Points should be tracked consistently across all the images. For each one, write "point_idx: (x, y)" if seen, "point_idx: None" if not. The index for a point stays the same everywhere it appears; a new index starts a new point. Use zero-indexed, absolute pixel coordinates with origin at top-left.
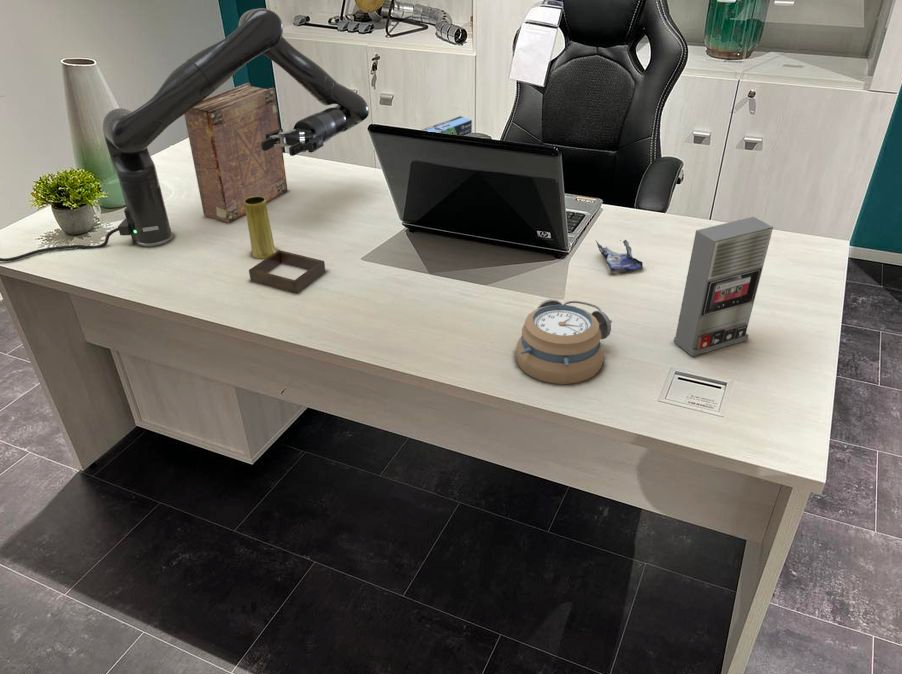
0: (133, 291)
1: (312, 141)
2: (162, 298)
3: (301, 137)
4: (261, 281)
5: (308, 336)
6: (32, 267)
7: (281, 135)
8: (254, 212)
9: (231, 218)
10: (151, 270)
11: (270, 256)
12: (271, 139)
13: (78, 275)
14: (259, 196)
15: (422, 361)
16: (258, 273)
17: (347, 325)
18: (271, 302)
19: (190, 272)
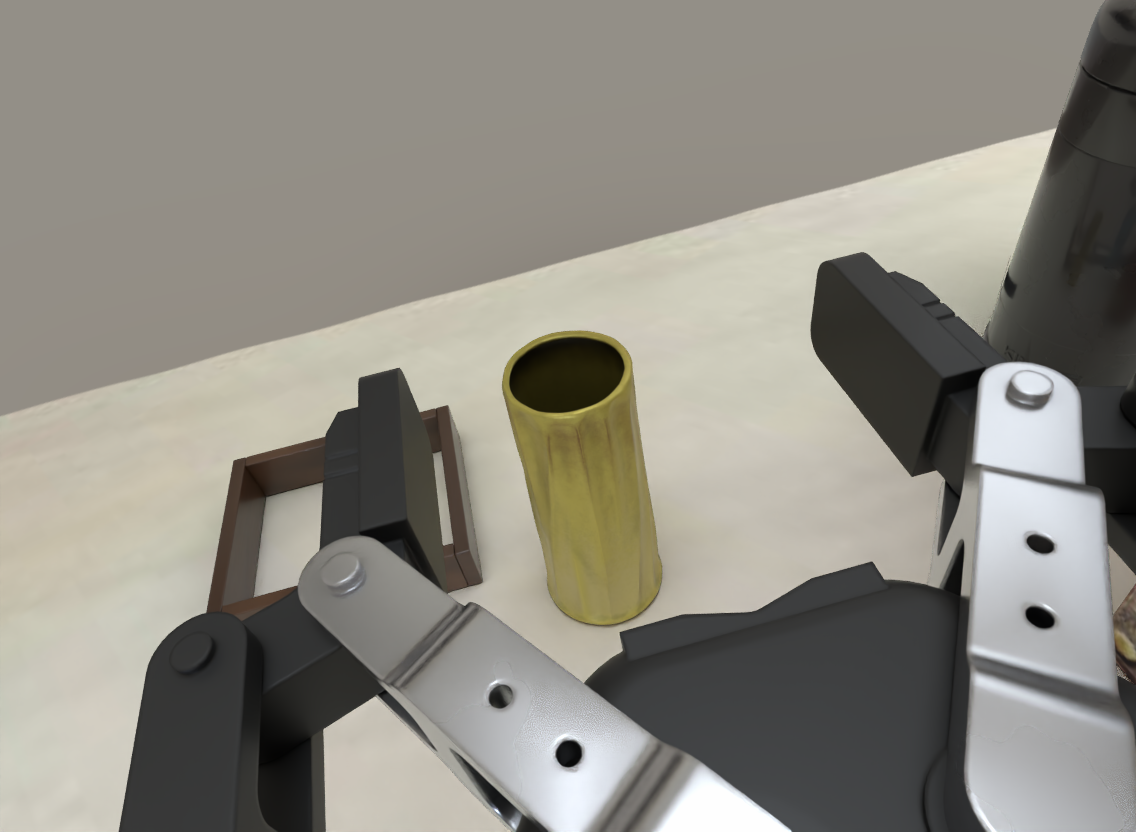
0: (692, 244)
1: (157, 715)
2: (596, 272)
3: (447, 634)
4: None
5: (106, 405)
6: (1027, 147)
7: (971, 508)
8: (534, 384)
9: (1125, 654)
10: (786, 293)
11: (455, 498)
12: (919, 367)
13: (894, 193)
14: (590, 407)
15: None
16: None
17: (6, 491)
18: (304, 421)
19: (680, 351)
